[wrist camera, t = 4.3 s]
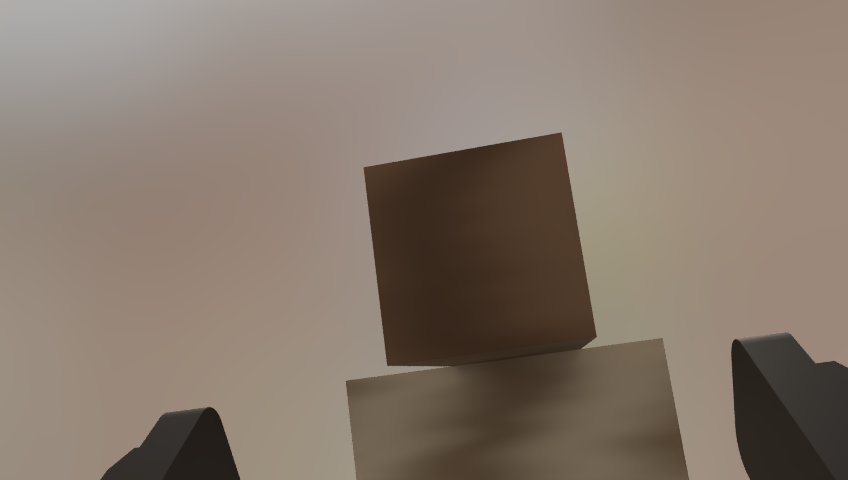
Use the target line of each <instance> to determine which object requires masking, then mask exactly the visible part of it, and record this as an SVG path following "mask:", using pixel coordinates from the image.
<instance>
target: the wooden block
mask: <svg viewBox="0 0 848 480" xmlns="http://www.w3.org/2000/svg"><path fill="white" fill-rule="evenodd" d="M346 387H347V396H348V404H349V414H350V423H351V433H352V442H353V451H354V460H355V469H356V479H357V480H689V478H688V472H687V467H686V461H685V456H684V451H683V445H682V440H681V435H680V429H679V424H678V419H677V414H676V408H675V403H674V397H673V392H672V387H671V381H670V376H669V371H668V366H667V361H666V355H665V349H664V345H663V339H662V338H660V339H653V340H645V341H638V342H631V343H624V344H616V345H608V346H601V347H594V348H586V349H579V350H571V351H564V352H556V353H549V354H541V355H534V356H527V357H519V358H512V359H504V360H497V361H490V362H482V363H475V364H467V365H460V366H452V367H445V368H438V369H430V370H423V371H415V372H408V373H401V374H393V375H387V376H378V377H371V378H363V379H356V380H348V381H346Z"/></svg>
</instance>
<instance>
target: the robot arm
mask: <svg viewBox="0 0 848 480" xmlns="http://www.w3.org/2000/svg"><path fill="white" fill-rule="evenodd" d="M731 357H732V375H733V392H734V411H735V427H736V436H737V443H738V447H739V451H740V455H741V459H742V461H743V465H744V467H745V470H746V472H747V474H748V476H749V478H750V480H848V368H847V367H845V366H843V365H841V364H839V363H837V362H835V361H831V362H823V363H814V361H813V360H812V359H811V358H810V357H809V355H808V354H807V353H806V352H805V351H804V349H803V348H802V347H801V346H800V345H799V344H798V342H797V341H796V340H795V339H794V338H793V336H792V335H791V334H789V333H779V334H771V335H763V336H756V337H749V338H741V339H735V340H734V341H733V343H732V351H731ZM101 480H240V477H239V474H238V471H237V468H236V465H235V462H234V459H233V456H232V452H231V449H230V446H229V443H228V440H227V437H226V434H225V431H224V428H223V425H222V422H221V419H220V416H219V415H218V413H217V411H216V410H215V409H213V408H211V407H207V408H199V409H192V410H185V411H176V412H169V413H165V414H164V415H162V416H161V417H160V418H159V420H158V421H157V423H156V424H155V426H154V427H153V429H152V430H151V432H150V433H149V435H148V436H147V437H146V439H145V440H144V442H143V443H142V445H141V446H140V447H139V448H134V449H133V450H131V451H130V452H129V453H128V454H127V455H125V456H124V457H123V458H122V459H120V460H119V461H118V462H117V463H116V464H114V465H113V466H112V467H111V468H109V469H108V470H107V471H106V473H105V474H104V476H103V477H102V479H101Z"/></svg>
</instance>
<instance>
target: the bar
mask: <svg viewBox="0 0 848 480" xmlns="http://www.w3.org/2000/svg"><path fill="white" fill-rule="evenodd" d="M364 174H365V182H366V191H367V200H368V207H369V216H370V225H371V233H372V241H373V249H374V258H375V267H376V275H377V283H378V292H379V300H380V309H381V317H382V325H383V334H384V342H385V350H386V359H387V365H388V366H460V365H467V364H475V363H482V362H490V361H497V360H504V359H512V358H519V357H527V356H534V355H541V354H549V353H556V352H564V351H571V350H579V349H581V348H582V347H584V346H585V345H587V344H588V343H589V342H591V341H592V340H593V339H595V338H596V337H597V336H596V330H595V325H594V319H593V313H592V307H591V302H590V295H589V290H588V284H587V278H586V272H585V266H584V261H583V255H582V249H581V244H580V237H579V231H578V226H577V220H576V214H575V208H574V202H573V197H572V191H571V185H570V180H569V173H568V167H567V162H566V156H565V150H564V144H563V138H562V133H556V134H550V135H545V136H539V137H534V138H528V139H522V140H517V141H511V142H505V143H500V144H494V145H488V146H483V147H477V148H472V149H466V150H461V151H454V152H449V153H443V154H438V155H432V156H426V157H420V158H415V159H409V160H403V161H398V162H392V163H387V164H381V165H375V166H369V167H364Z"/></svg>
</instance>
